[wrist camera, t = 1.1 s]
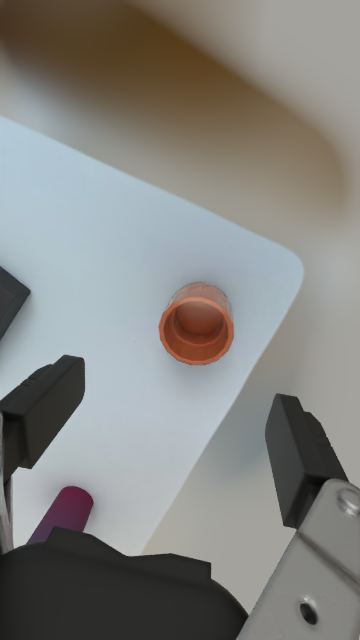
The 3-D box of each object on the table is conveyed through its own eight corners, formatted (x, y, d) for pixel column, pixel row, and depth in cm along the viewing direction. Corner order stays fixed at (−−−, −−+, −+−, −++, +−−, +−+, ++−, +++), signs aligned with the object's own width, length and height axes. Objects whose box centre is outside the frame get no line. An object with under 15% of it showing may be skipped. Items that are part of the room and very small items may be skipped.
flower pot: (197, 268, 24) (192, 281, 19) (244, 310, 25) (249, 331, 20) (157, 312, 26) (144, 333, 22) (202, 350, 27) (198, 377, 22)
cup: (54, 476, 37) (-45, 632, 23) (101, 489, 37) (30, 656, 23) (52, 507, 40) (-37, 664, 26) (96, 520, 39) (29, 686, 25)
